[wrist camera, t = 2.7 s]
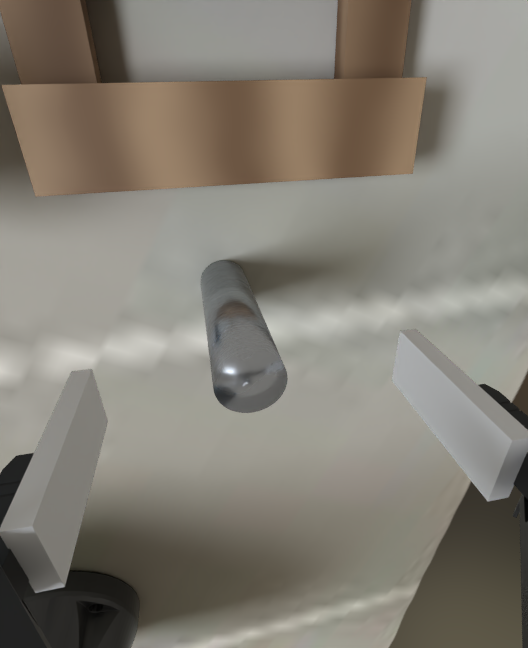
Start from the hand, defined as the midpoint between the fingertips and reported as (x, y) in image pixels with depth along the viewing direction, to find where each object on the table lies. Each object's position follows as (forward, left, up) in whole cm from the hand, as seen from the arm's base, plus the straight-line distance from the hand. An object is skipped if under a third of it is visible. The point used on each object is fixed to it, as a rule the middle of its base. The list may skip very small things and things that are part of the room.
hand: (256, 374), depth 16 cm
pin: (0, 0, -12) cm, 12 cm away
